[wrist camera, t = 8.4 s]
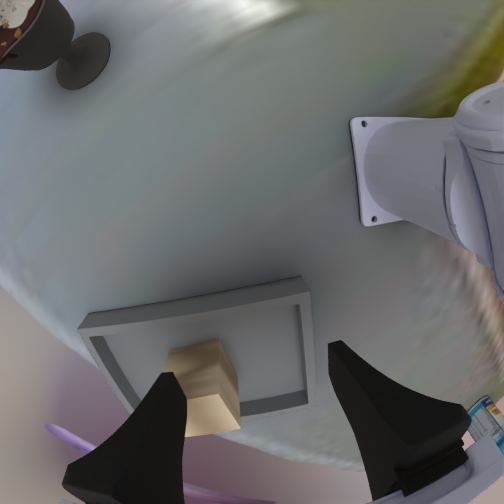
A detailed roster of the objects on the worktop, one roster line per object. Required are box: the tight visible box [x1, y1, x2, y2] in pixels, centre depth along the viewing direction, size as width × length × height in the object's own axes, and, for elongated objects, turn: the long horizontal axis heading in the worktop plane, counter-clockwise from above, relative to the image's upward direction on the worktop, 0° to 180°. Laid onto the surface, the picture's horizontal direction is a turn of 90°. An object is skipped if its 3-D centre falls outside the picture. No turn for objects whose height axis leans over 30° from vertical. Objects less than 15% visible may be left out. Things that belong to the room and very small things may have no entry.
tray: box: [77, 276, 317, 421], centre depth 21 cm, size 18×13×2 cm
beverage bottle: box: [468, 396, 504, 456], centre depth 26 cm, size 8×8×20 cm
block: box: [164, 338, 241, 437], centre depth 19 cm, size 4×4×6 cm
